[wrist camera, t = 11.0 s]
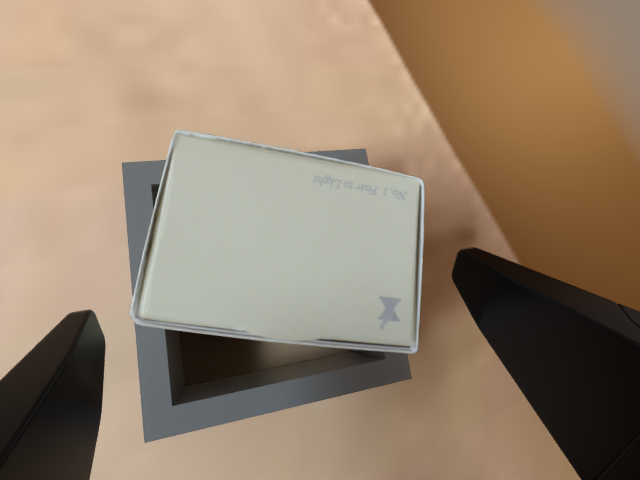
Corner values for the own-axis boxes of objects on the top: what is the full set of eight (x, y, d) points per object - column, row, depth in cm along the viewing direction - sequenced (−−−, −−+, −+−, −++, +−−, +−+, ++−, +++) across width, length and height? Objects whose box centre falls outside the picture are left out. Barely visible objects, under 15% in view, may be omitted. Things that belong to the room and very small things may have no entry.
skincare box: (320, 256, 21) (436, 173, 9) (310, 338, 20) (429, 359, 8) (203, 237, 20) (172, 115, 8) (186, 324, 19) (123, 326, 7)
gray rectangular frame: (372, 367, 20) (411, 378, 16) (164, 413, 17) (144, 442, 13) (338, 182, 22) (365, 148, 18) (144, 198, 19) (121, 162, 15)
